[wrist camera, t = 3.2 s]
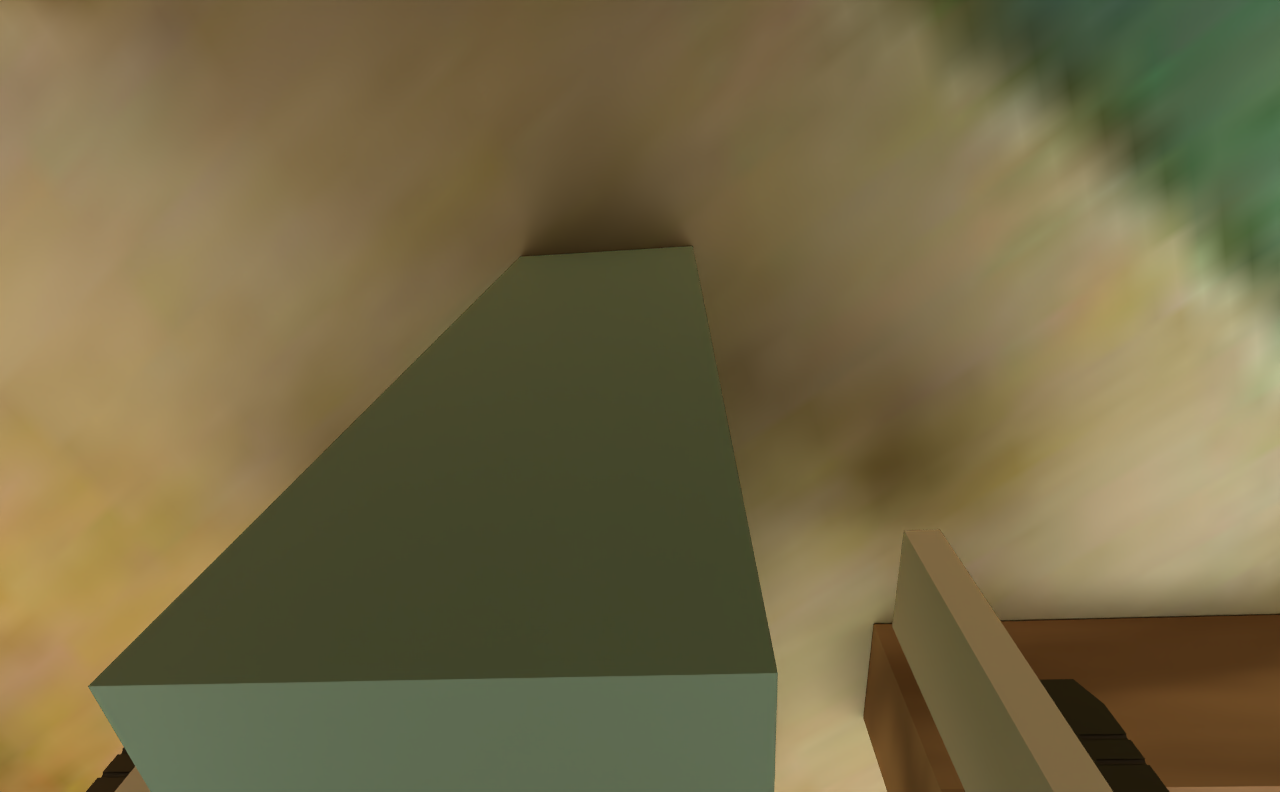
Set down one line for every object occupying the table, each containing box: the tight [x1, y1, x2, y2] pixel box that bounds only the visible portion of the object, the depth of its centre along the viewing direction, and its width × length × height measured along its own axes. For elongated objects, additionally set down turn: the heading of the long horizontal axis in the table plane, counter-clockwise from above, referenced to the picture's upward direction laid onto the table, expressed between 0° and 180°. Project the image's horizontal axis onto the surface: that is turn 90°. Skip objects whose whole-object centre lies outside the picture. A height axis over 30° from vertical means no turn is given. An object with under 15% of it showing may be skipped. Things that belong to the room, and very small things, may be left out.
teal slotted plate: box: [88, 246, 778, 792], centre depth 13 cm, size 18×4×12 cm, turn 4°
